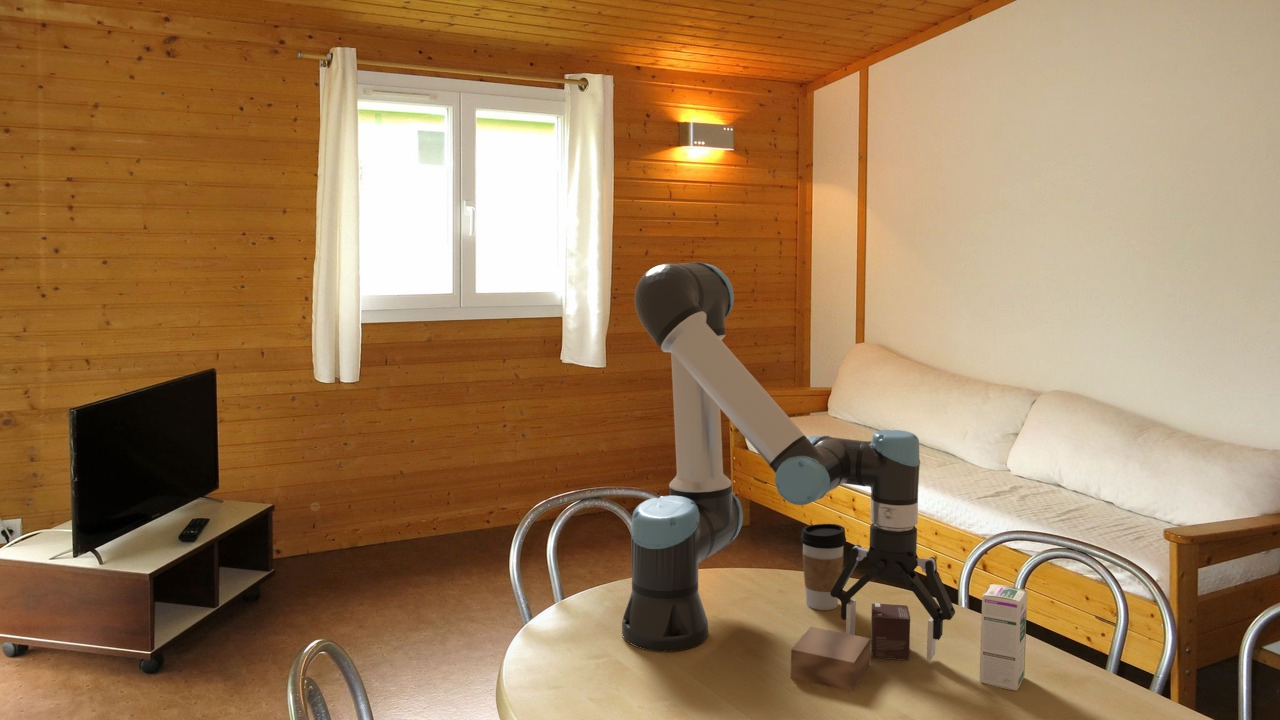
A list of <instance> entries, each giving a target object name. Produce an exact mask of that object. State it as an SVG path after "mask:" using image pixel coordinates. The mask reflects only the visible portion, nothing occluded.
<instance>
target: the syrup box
mask: <svg viewBox="0 0 1280 720" xmlns="http://www.w3.org/2000/svg"><path fill="white" fill-rule="evenodd" d="M1027 604H1028V591H1027V590H1026V589H1023V588H1018V587H1016V586H1015V587H1014V586H1010V585H1004V584H1003V585H1002V584H993V583H991V584H989V586H988V588H987V589H986V590H985V591H984V592H983V594H982V596H981V620H980V621H981V624H980V657H979V658H980V659H979V660H980V661H979V662H980V663H979V682H980V683H982V684H986V685H989V686H992V687H997V688H1001V689H1006V690H1010V691H1013V692H1014V691H1016V692H1018V690H1019V688H1020V686H1021V684H1022V682H1023V680H1024V678H1025V669H1026V666H1025V665H1026V664H1025V663H1026V642H1027V641H1026V639H1027V638H1026V637H1027V633H1026V632H1027V608H1028V605H1027Z"/></svg>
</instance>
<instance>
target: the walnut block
mask: <svg viewBox="0 0 1280 720" xmlns="http://www.w3.org/2000/svg"><path fill="white" fill-rule="evenodd" d="M870 666H871V637H868V636H867V637H866V636H861V635H856V634H855V635H851V634H846V632H841V631H836V630H830V629H825V628H820V627H815V626H810V627H809V628H808V629H807V630H806V632H805V633H804V634H803V635H802V636H801V637H800V638H799V639H798V641H797V642H796V643H795V645H793V647H792V648H791V649H790V678H791V679H794V680H798V681H799V680H800V681H803V682H807V683H810V684H811V683H812V684H816V685H819V686H820V685H821V686H824V687H829V688H834V689H837V690H842V691H846V692H851V693H854V691H855V690H856V688H857V687H858V685H859V683H860V682H861V680H862V679H863V677H864V676H865V674H866V672H867V671H868V670H869V668H870Z"/></svg>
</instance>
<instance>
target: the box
mask: <svg viewBox="0 0 1280 720" xmlns="http://www.w3.org/2000/svg"><path fill="white" fill-rule="evenodd" d="M870 619H871V622H870V623H871V625H870V626H871V627H870V631H871V632H870V638H871V643H870V651H871V655H872V658H875V659H886V660H899V661H909V660H910V643H911V641H910V640H911V639H910V638H911V637H910V636H911V635H910V634H911V615H910V611H909V607H908V605H907V604H904V605H902V604H892V603H890V604H888V603H871V617H870Z"/></svg>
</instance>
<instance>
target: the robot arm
mask: <svg viewBox="0 0 1280 720" xmlns="http://www.w3.org/2000/svg"><path fill="white" fill-rule="evenodd" d="M734 294H735V293H734V287H733V285H732V283H731V281H730V279H729V278H728V276H727V275H726V273H724V271H722V269H720V268H719V267H717V266H715V265H712V264H710V263H703V262H695V261H692V262H687V263H662V264H659V265H656V266H654V267H652V268H650V269H649V270H648V271H646V272H645V273H643V275H642V277H641V278H640V279H639V281H638V282H637V284H636V287H635V291H634V296H633V298H634V299H633V303H634V307H635V313H636V315H637V317H638V320H639V322H640V324H641V325H642V327H643V328H644V329H645V332H647V334H648V336H650V338H651V339H652V340H653V342H654V343H655V344H656V345H657V346H658V348H660V349H661V351H662V352H663V353H670V356H671V358H670V359H671V379H672V380H671V382H672V398H673V399H672V400H673V401H672V402H673V420H674V424H673V425H674V441H675V442H674V443H675V459H676V460H675V464H676V475H675V476H674V478H673V479H672V480H671V481H670V482H669V483H668V486H669V495H661V496H659V497H652V498H649V499H646V500H644V501H642V502H641V503H639V504H637V506H636V507H635V509H634V510H633V512H632V516H631V517H632V518H631V526H630V537H631V593H630V596H629V599H628V603H627V605H626V608H625V612H624V615H623V618H622V622H621V624H622V625H621V634H623V635H622V637H623V636H624V638H625V639H626V640H627V641H629V642H630V643H632V644H634V645H636V646H638V647H637V648H639V647H641V648H640V649H642V648H644V649H643V650H646V649H647V651H652V650H653V651H654V652H678V651H685V650H689V649H693V648H695V647H698V646H699V645H701V644H703V643H704V642H705V641H706V640H707V639H708V636H709V621H708V618H707V615H706V612H705V609H704V605H703V602H702V598H701V596H700V594H699V593H700V592H699V564H700V563H701V562H703V561H704V560H705V559H707V558H709V557H710V556H713V555H714V554H715V553H718V552H720V551H723V550H724V549H726V548H727V547H728V546H729V545H731V543H732V542H733V541H734V540H735V539H736V538H737V536H738V535H739V533H740V531H741V528H742V525H743V522H744V521H743V520H744V519H743V518H744V513H743V508H742V504H741V502H740V499H739V498H738V497H737V496H735V493H734V492H733V485H732V480H731V479H730V478H728V476H727V475H726V474H725V473H724V467H723V466H724V464H723V463H724V462H723V460H724V459H723V443H722V439H723V438H722V420H721V415H722V414H721V411H722V412H723V413H724V415H725V416H726V417H727V418H728V419H729V420H730V422H731V423H732V424H733V425H734V426H735V428H736V429H737V430H738V431H739V432H740V433H741V434H742V435H743V436H744V438H745V439H746V440H747V442H749V443H750V444H751V446H752V447H753V449H755V450H756V452H757V453H758V454H759V456H760V457H761V458H763V460H764V461H765V462H766V463H767V464H768V466H769V467H770V468H771V470H772V471H773V472H774V473H775V475H774V482H775V487H776V489H777V492H778V494H779V495H780V497H782V499H784V500H785V501H786V502H788V503H790V504H792V505H796V506H805V505H808V504H812V503H813V502H816V501H818V500H821V499H823V498H824V497H826V494H828V493H829V492H831V491H833V490H835V489H836V488H838V487H840V486H841V485H843V484H845V485H852V486H861V487H870V492H871V493H870V522H871V524H870V526H869V549H866V548H862V546H861V544H856V545H854V546H853V547H852V548H851V549H850V551H849V556H848V557H849V558H848V562H847V563H846V565H845V566H844V568H843V569H842V573H841V575H840V577H839V579H838V580H837V582H836V584H835V585H834V587H833V589H832V591H831V593H830V594H831V596H832V597H836V598H838V601H840V603H841V604H840V606H841V607H840V618H841V620H842V621H845V633H846V634H851V635H856V617H857V616H856V613H857V612H856V610H857V607H856V606H857V600H856V599H853V597H854V596H855V595H856V594H857V593H858V592H859V591H860V590H861V589H863V587H864V586H865V585H866V584H868V583H869V582H870V581H871V580H872V579H873V578H874V577H875V576H876V575H877V576H878V577H879V578H880V580H885V581H887V580H891V581H893V582H897V583H900V582H904V584H905V585H906V586H907V587H908V588H909V589H911V591H912V592H913V594H914V595H915V596H916V598H917V599H918V601H919V602H920V603H921V605H922V606H923V608H924V609H925V610H926V612H927V613H928V614H929V615H930V616H929V617H930V618H929V619H928V620H927V635H926V636H927V638H926V660H930V661H932V660H933V658H934V656H935V655H936V649H937V648H936V642H937V641H940V640H941V638H942V636H943V632H944V631H943V625H944V621H945V620H947V621H950V620H952V618H954V616H955V614H956V610H955V608H954V605H953V603H952V600H951V598H950V597H949V594H948V593H947V589H946V588H945V586H944V583H943V581H942V579H941V577H940V574H939V572H938V567H937V563H938V562H937V559H936V558H935V557H934V556H931V557H929V558H920V557H918V554H917V550H918V549H917V548H918V547H917V542H918V528H917V527H916V526H917V524H918V518H919V515H918V513H919V512H918V511H919V510H918V509H919V508H918V507H919V482H920V478H919V477H920V467H921V459H920V440H919V437H918V436H917V435H916V434H915V433H913V432H910V431H906V430H900V429H899V430H898V429H893V430H891V429H882V430H877V431H875V432H874V433H873V435H872V439H871V440H868V441H866V440H857V439H849V438H840V437H832V436H830V435H822V436H821V435H809V436H806V435H805V434H804V433H803V432H802V430H801V429H800V428H799V427H798V426H797V424H796V423H795V422H794V421H793V420H792V419H791V418H790V417H789V416H788V414H787V413H786V412H785V411H784V410H783V409H782V407H780V405H779V404H778V403H777V402H776V401H775V400H774V399H773V397H772V396H771V395H770V394H769V393H768V391H766V389H765V388H764V387H763V386H762V385H761V383H760V382H759V381H758V380H757V379H756V378H755V376H753V375H752V373H750V371H749V370H748V369H747V368H746V367H745V365H744V364H743V363H742V362H741V361H740V360H739V359H738V358H737V356H736V355H734V353H733V352H732V351H731V350H730V348H729V347H728V346H727V345H726V344H725V343H724V341H723V339H724V338H725V337H726V319H727V317H728V316H729V314H730V313H731V311H732V310H733V307H734V301H735V295H734ZM864 558H866V560H867V561H868V562H869V564H870V566H871V568H870V569H869V570H868V571H867V572H865V573H864V575H862V577H860V578H859V579H858V580H857V581H856V582H855V583H854V584H853V585H852V586H851V587H850V588H849V589H848V590H847V591H845V590H844V588H845V586H846V585H847V582H848V581H849V580H850V577H851V576H852V574H853V572H854V570H855V569H856V567H857V566H858V563H859V562H861V561H863V560H864ZM917 567H920V569H921V571H922V572H923V573H925V576H926V579H927V582H928V583H929V586H930V588H931V590H932V592H933V595H934V597H935V598H934V597H933V595H931V593H930V592H929V590H928V589H927V587H926V586H925V585H924V584H923V582H922V581H921V579H920V576H919V575H918V573H917V572H916V571H915V569H916V568H917ZM935 599H936V600H935ZM624 638H623V639H624ZM625 639H624V640H625ZM626 640H625V641H626ZM936 640H937V641H936ZM627 641H626V642H627ZM630 643H629V644H630ZM632 644H631V645H632ZM634 645H633V646H634ZM636 646H635V647H636Z"/></svg>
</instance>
